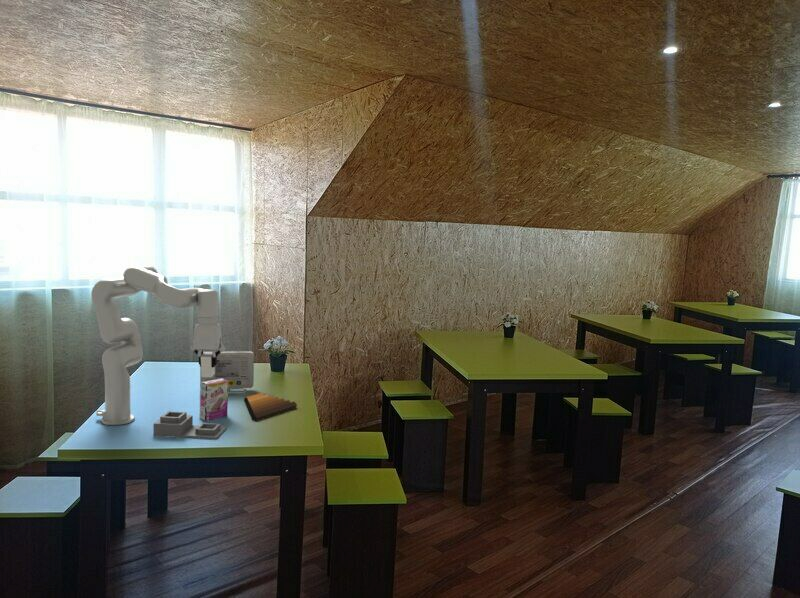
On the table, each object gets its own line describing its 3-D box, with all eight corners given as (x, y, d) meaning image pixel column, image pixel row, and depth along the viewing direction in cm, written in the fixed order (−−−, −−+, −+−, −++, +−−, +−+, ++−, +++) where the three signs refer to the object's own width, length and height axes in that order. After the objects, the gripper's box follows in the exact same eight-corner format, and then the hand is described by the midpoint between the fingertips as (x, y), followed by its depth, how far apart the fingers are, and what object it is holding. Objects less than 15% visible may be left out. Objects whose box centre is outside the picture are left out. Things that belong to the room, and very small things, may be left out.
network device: (253, 388, 303) (253, 350, 301) (253, 393, 295) (254, 354, 293) (201, 389, 297) (201, 350, 294) (199, 394, 288) (200, 354, 286)
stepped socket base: (153, 435, 230) (153, 418, 230) (166, 425, 242) (166, 409, 242) (216, 439, 230) (216, 421, 229) (226, 428, 242) (226, 412, 241)
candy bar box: (205, 422, 249) (206, 384, 247) (199, 419, 252) (199, 382, 250) (228, 416, 258) (228, 379, 256) (221, 413, 261) (222, 377, 259)
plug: (201, 376, 232) (200, 355, 230) (205, 373, 236) (204, 352, 234) (211, 377, 232) (210, 355, 230) (214, 373, 236) (214, 352, 234)
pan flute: (256, 422, 253) (296, 409, 274) (256, 414, 253) (297, 402, 274) (218, 410, 267) (259, 398, 288) (218, 403, 266) (259, 392, 287)
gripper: (183, 321, 227) (183, 367, 229) (225, 323, 227) (225, 369, 229) (190, 318, 235) (190, 363, 237) (231, 320, 234) (231, 365, 237)
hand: (207, 365), depth 233 cm, fingers closed on plug, 4 cm apart
